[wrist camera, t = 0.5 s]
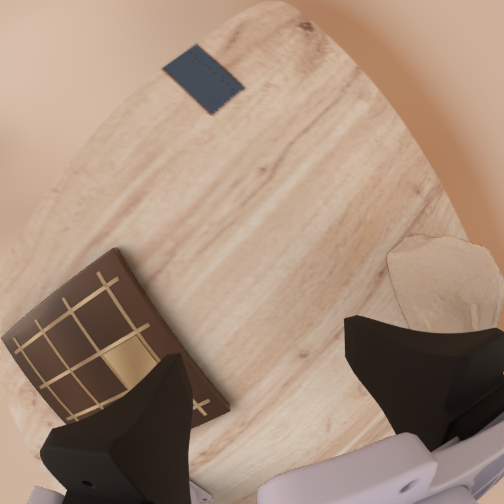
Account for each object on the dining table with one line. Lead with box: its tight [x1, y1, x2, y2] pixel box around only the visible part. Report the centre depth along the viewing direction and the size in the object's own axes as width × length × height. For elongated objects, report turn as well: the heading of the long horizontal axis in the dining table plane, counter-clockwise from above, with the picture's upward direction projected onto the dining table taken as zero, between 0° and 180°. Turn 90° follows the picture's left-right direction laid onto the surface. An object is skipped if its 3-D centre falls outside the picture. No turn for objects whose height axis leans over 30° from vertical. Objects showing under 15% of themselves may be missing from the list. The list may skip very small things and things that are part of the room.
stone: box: [387, 234, 504, 333], centre depth 18 cm, size 10×5×12 cm, turn 18°
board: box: [1, 247, 230, 429], centre depth 20 cm, size 16×16×1 cm
